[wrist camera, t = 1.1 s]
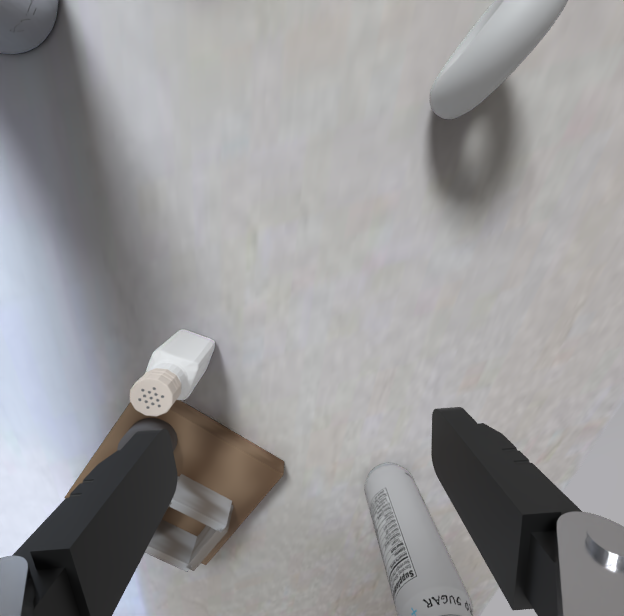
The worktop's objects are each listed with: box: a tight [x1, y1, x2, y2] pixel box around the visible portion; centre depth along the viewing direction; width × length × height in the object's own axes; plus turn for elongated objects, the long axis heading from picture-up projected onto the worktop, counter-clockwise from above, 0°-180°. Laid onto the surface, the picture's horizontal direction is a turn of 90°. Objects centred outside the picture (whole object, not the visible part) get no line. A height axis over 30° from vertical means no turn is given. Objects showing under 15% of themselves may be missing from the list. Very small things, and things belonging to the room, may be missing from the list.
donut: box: [430, 0, 568, 119], centre depth 21 cm, size 10×4×10 cm, turn 144°
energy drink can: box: [364, 463, 473, 616], centre depth 29 cm, size 6×6×15 cm
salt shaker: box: [130, 329, 215, 416], centre depth 27 cm, size 4×4×10 cm
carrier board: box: [65, 400, 284, 572], centre depth 32 cm, size 18×16×5 cm
